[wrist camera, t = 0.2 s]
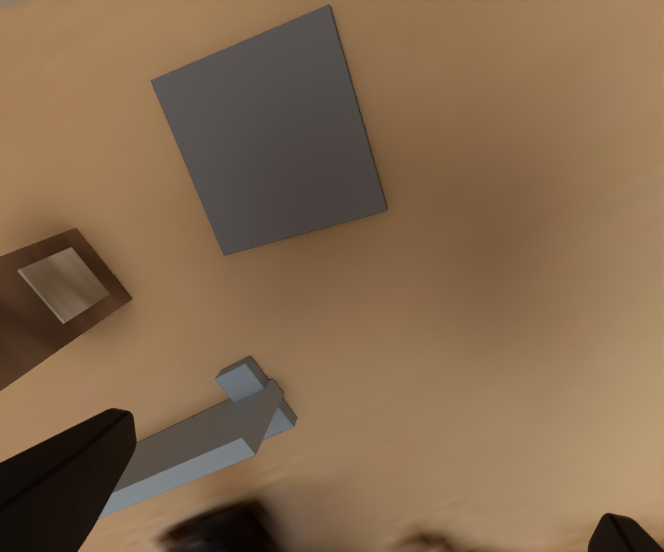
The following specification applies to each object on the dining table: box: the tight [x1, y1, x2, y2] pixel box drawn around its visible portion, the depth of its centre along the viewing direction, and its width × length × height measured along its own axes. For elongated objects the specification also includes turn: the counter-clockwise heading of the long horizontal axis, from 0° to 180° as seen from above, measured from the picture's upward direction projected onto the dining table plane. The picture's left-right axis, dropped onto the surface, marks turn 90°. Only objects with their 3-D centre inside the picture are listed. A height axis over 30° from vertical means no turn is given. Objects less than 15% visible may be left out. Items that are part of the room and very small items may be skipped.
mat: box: [151, 5, 388, 255], centre depth 21 cm, size 9×9×1 cm
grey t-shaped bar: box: [98, 356, 297, 519], centre depth 27 cm, size 18×5×5 cm, turn 123°
